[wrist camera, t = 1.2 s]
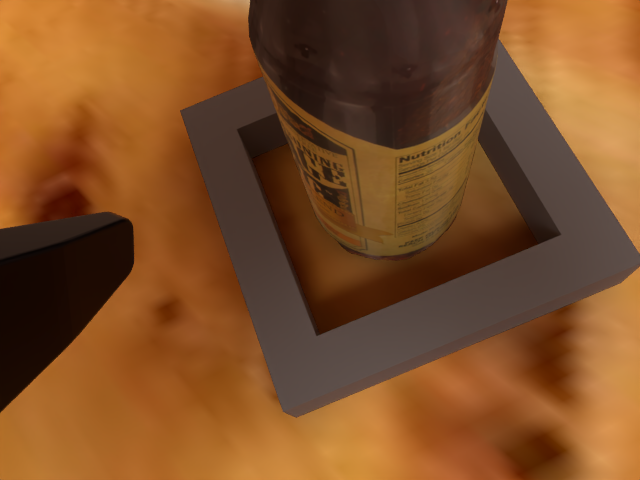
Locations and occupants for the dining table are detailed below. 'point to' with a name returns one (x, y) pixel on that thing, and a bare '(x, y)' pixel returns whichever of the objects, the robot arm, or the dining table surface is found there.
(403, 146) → the sauce bottle
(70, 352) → the dining table surface
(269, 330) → the grey square frame
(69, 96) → the dining table surface
